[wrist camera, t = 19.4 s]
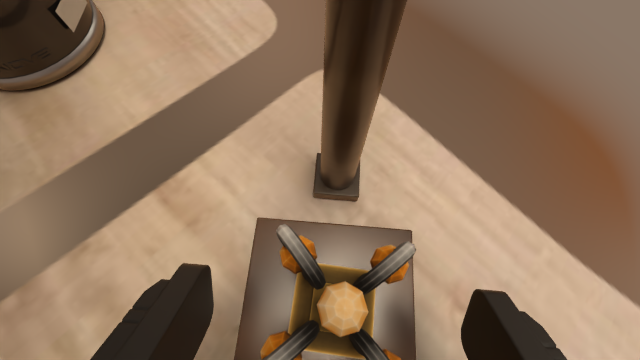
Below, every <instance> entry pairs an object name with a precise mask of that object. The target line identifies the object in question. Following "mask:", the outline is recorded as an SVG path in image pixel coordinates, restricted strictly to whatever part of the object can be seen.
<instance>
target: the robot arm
mask: <svg viewBox="0 0 640 360" xmlns="http://www.w3.org/2000/svg"><path fill="white" fill-rule="evenodd" d="M103 30H104V23H103V18H102V15H101V13H100V11H99V9H98V8H97V7H96V5H95V4H94V3H93V1H92V0H0V89H2V90H24V89H31V88H35V87H39V86H43V85H46V84H49V83H51V82H54V81H56V80H58V79H61V78H62V77H64V76H66V75H68V74H69V73H71V72H73V71H74V70H76V69H77V68H78V67H80V66H81V65H82V64H83V63H84V62H85V61H86V60H87V59H88V58H89V57H90V56H91V55H92V54H93V52H94V51H95V50H96V48H97V46H98V45H99V43H100V41H101V38H102V35H103ZM213 307H214V302H213V291H212V279H211V269H210V267H209V266H208V265H198V264H187V263H183V264H182V265H181V266H180V267H179V268H178V269H177V271H176V272H175V274H174V275H173V276H172V278H171V279H170V280H164V279H161V280H160V281H159V282H157V283H156V284H154V285H153V286H152V287H150V288H149V289H147V290H146V291H145V292H144V293H143V294H142V295H141V297H140V298H139V299H138V300H137V302H136V303H135V304H134V305H133V308H132V309H130V310H129V312H128V313H127V314H126V315H125V317H124V318H123V320H122V322H121V323H119V324H118V325H117V327H116V328H115V329H114V330H113V332H112V333H111V334H110V335H109V337H108V338H107V339H106V341H105V342H104V343H103V344H102V346H101V347H100V348H99V349H98V351H97V352H96V353H95V354H94V356H93V357H92V358H91V359H90V360H194V357H195V355H196V353H197V351H198V349H199V347H200V344H201V342H202V340H203V338H204V336H205V334H206V331H207V329H208V327H209V325H210V322H211V319H212V314H213ZM461 340H462V345H463V349H464V351H465V353H466V356H467V358H468V360H567V359H566V357H565V356H564V355H563V353H562V352H561V351H560V349H558V348H556V344H555V343H554V341H553V340H552V339H551V337H550V336H549V335H548V333H547V332H546V331H545V329H544V328H543V327H542V326H541V325H540V324H538V323H537V322H536V321H535V320H534V319H533V318H531V317H530V316H529V315H528V314H527V313H525V312H522V311H519V310H518V309H517V307H516V306H515V304H514V303H513V302H512V300H511V299H510V297H509V296H508V295H507V294H506V293H505V292H503V291H492V290H481V289H476V290H475V291H474V292H473V294H472V296H471V299H470V302H469V305H468V308H467V312H466V315H465V318H464V321H463V324H462V327H461Z"/></svg>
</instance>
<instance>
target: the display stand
mask: <svg viewBox="0 0 640 360" xmlns="http://www.w3.org/2000/svg"><path fill="white" fill-rule="evenodd" d="M406 2H407V0H326V10H325V11H326V12H325V42H324V43H325V44H324V73H323V105H322V136H321V153H317V159H316V170H315V180H314V191H313V196H314V197H315V198H327V199H339V200H351V201H357V200H358V197H359V178H360V157H361V154H362V150H363V147H364V144H365V140H366V137H367V133H368V130H369V127H370V123H371V120H372V117H373V113H374V110H375V106H376V103H377V100H378V96H379V93H380V90H381V86H382V83H383V79H384V76H385V72H386V69H387V66H388V63H389V59H390V56H391V52H392V49H393V45H394V42H395V39H396V35H397V32H398V29H399V25H400V22H401V19H402V15H403V12H404V9H405V5H406ZM284 224H286V225H287V226H289V227H290V228H292V229H293V230H294V232H295V233H296V234H297V235H298V236H300V235H302V236H303V237H305V238H307V239H308V240H310V241H312V242H314V246H315V250H316V254H317V258H316V262H317V263H321V264H328V265H336V266H343V267H350V268H357V269H364V270H371V269H372V267H371V264H370V260H371V258H372V256H373V254H374V252H375V250H376V248H380V247H384V246H388V245H393V246H394V247H396V248H397V247H398V246H399V245H400V244H402V243H404V242H408V241H409V242H410V243H412V231H411V230H402V229H390V228H378V227H366V226H354V225H342V224H330V223H318V222H306V221H294V220H282V219H270V218H257V223H256V229H255V235H254V241H253V247H252V253H251V259H250V266H249V272H248V278H247V284H246V290H245V296H244V302H243V308H242V314H241V320H240V326H239V333H238V339H237V345H236V351H235V357H234V360H262V359H261V353H260V351H261V349H262V347H263V346H264V344H265V342H266V340H267V339H268V337H269V336H270V335H273V334H276V333H280V332H283V331H286V332H287V333H288V328H289V321H290V315H291V309H292V302H293V296H294V290H295V283H296V277H297V274H295V273H293V272H291V271H290V270H288V269H287V268H285V267H283V266H282V261H281V256H280V250H281V248H282V247H283V244H282V243H281V241H280V240H279V238H278V237H277V232H276V230H277V229H278V227H279V226H280V225H284ZM408 264H409V267H408V269H407V271H406V273H405V276H404V278H403V280H401V281H398V282H394V283H391V284H387V283H385V282H383V283H382V284H380V285H379V286H378V287H376V293H375V309H374V326H373V339H374V341H375V342H376V343H377V344H378V345H379V347H380V348H381V349H382V350H383V349H387V350H389V351H390V352H392V353H393V354H395V355H397V356H398V357H400V358H401V360H416V347H415V315H414V283H413V257H412V258H411V259H410V260H409V261H408ZM301 353H302V360H363V359H356V358H350V357H343V356H336V355H330V354H323V353H317V352H310V351H302V352H301Z"/></svg>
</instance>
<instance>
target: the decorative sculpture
mask: <svg viewBox="0 0 640 360" xmlns="http://www.w3.org/2000/svg"><path fill="white" fill-rule="evenodd" d="M276 232H277V237H278V238H279V240H280V241H281V243H282V244H283V247H282V248H281V250H280V256H281V261H282V266H283V267H285V268H287V269H288V270H290V271H291V272H293V273H295V274H297V277H296V283H295V290H294V296H293V302H292V309H291V315H290V321H289V328H288V333H287V332H286V331H283V332H280V333H276V334H273V335H270V336H269V337H268V339H267V340H266V342H265V344H264V346H263V347H262V349H261V351H260V353H261V359H262V360H302V353H301V352H302V351H310V352H317V353H323V354H330V355H336V356H343V357H350V358H356V359H363V360H401V358H400V357H398V356H397V355H395V354H393V353H392V352H390V351H389V350H387V349H383V350H382V349H381V348H380V347H379V345H378V344H377V343H376V342H375V341H374V339H373V326H374V309H375V293H376V287H378V286H379V285H380V284H382V283H383V282H385V283H387V284H391V283H394V282H398V281H401V280H403V278H404V276H405V273H406V271H407V269H408V267H409V264H408V261H409V260H410V259H411V258H412V257H413V255H414V253H415V251H416V249H415V246H414V244H412V243H410V242H409V241H408V242H404V243H402V244H400V245H399V246H398V247H397V248H396V247H394V246H393V245H388V246H384V247H380V248H376V250H375V252H374V254H373V256H372V258H371V260H370V264H371V267H372V269H371V270H364V269H357V268H350V267H343V266H336V265H328V264H321V263H317V262H316V258H317V254H316V250H315V246H314V242H312V241H310V240H308V239H307V238H305V237H303V236H302V235H300V236H298V235H297V234H296V233H295V232H294V230H293V229H292V228H290V227H289V226H287V225H286V224H284V225H280V226H279V227H278V229H277V230H276Z"/></svg>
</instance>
